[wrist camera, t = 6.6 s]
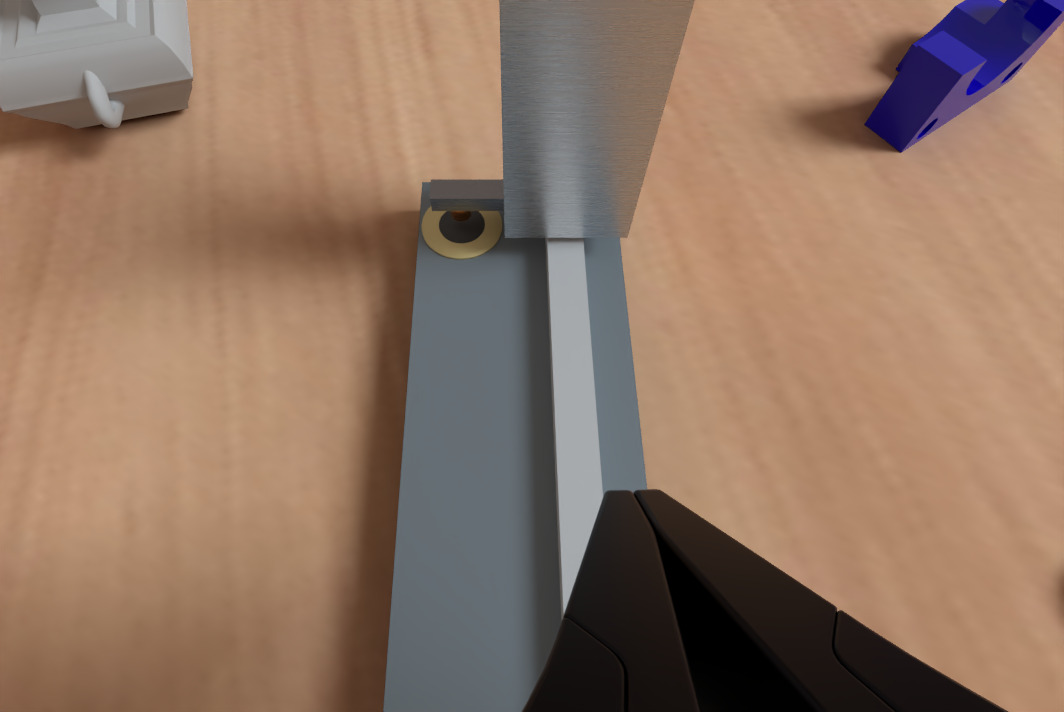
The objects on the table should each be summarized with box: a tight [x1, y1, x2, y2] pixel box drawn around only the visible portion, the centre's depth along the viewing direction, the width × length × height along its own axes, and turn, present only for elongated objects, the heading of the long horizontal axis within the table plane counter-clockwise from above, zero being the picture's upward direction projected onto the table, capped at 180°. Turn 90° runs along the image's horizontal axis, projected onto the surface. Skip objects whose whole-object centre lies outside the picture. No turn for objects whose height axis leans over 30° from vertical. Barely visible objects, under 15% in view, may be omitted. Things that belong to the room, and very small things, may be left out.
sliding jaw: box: [430, 0, 695, 238], centre depth 14 cm, size 3×6×13 cm, turn 91°
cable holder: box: [864, 0, 1064, 152], centre depth 25 cm, size 8×4×4 cm, turn 126°
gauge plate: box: [383, 182, 647, 712], centre depth 17 cm, size 20×7×3 cm, turn 1°
